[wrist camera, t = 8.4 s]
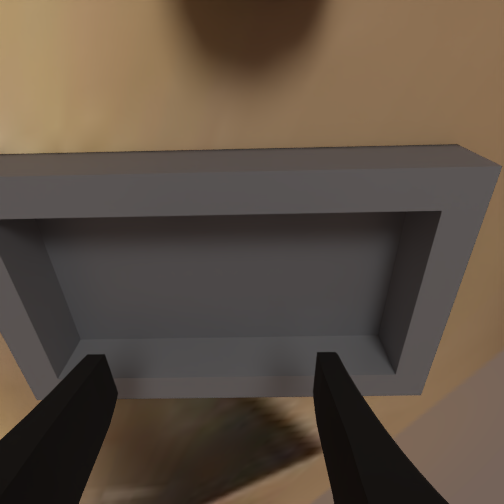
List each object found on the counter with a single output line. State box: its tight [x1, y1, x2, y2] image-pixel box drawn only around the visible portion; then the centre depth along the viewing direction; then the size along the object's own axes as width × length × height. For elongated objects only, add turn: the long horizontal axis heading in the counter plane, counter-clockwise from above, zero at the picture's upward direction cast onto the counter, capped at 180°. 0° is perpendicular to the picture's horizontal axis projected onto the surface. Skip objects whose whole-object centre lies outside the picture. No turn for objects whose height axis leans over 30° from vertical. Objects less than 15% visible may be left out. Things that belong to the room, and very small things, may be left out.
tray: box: [0, 144, 502, 400], centre depth 16 cm, size 20×12×3 cm, turn 91°
